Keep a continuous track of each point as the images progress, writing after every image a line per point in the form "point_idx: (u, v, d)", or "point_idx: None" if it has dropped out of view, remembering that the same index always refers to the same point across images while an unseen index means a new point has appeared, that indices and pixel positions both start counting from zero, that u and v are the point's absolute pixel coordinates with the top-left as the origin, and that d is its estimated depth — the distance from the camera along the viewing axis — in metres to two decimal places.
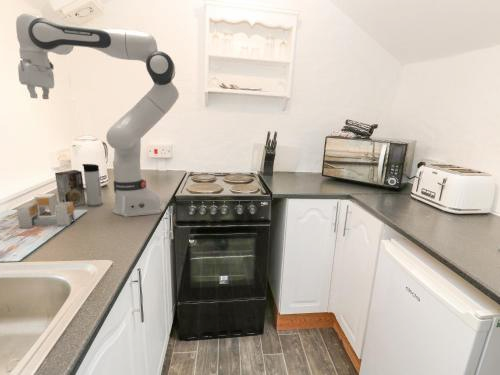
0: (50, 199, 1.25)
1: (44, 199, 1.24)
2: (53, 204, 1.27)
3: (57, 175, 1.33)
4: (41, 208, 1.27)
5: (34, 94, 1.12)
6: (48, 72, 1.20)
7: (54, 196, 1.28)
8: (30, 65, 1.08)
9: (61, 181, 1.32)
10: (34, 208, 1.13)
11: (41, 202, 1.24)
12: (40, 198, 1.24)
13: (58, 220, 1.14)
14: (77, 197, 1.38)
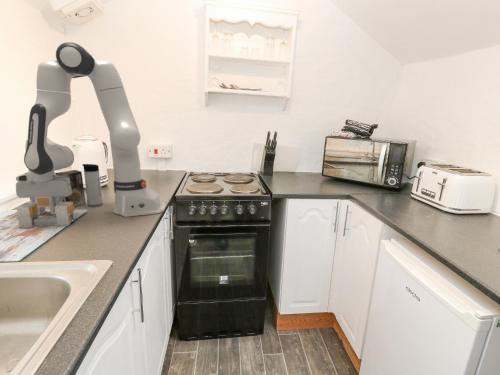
0: (50, 199, 1.25)
1: (44, 199, 1.24)
2: (53, 204, 1.27)
3: None
4: (41, 208, 1.27)
5: (58, 202, 1.29)
6: None
7: None
8: None
9: None
10: (34, 208, 1.13)
11: (41, 202, 1.24)
12: (40, 198, 1.24)
13: (58, 220, 1.14)
14: (77, 197, 1.38)
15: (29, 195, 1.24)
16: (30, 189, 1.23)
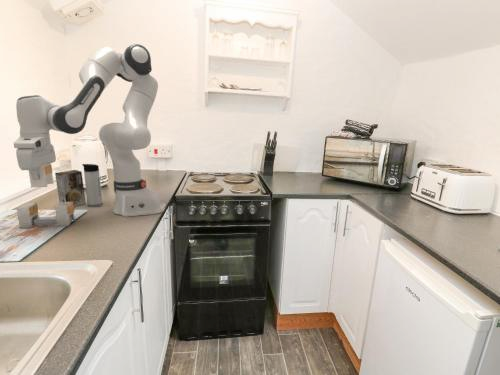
0: None
1: (50, 166, 1.12)
2: None
3: (57, 175, 1.33)
4: None
5: None
6: None
7: None
8: None
9: (61, 181, 1.32)
10: (34, 208, 1.13)
11: (49, 170, 1.11)
12: (47, 166, 1.11)
13: (58, 220, 1.14)
14: (77, 197, 1.38)
15: (37, 165, 1.06)
16: (37, 157, 1.06)
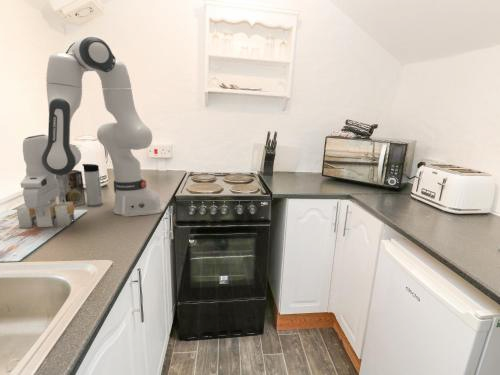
0: (56, 204, 1.18)
1: None
2: None
3: (57, 175, 1.33)
4: None
5: None
6: None
7: None
8: None
9: (61, 181, 1.32)
10: None
11: (54, 210, 1.15)
12: (53, 206, 1.14)
13: (58, 220, 1.14)
14: (77, 197, 1.38)
15: (43, 202, 1.09)
16: (43, 195, 1.09)
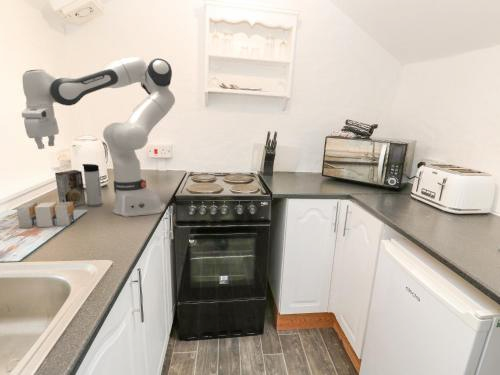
0: (56, 204, 1.18)
1: None
2: None
3: (57, 175, 1.33)
4: None
5: None
6: None
7: None
8: None
9: (61, 181, 1.32)
10: (34, 208, 1.13)
11: (54, 210, 1.15)
12: (53, 206, 1.14)
13: (58, 220, 1.14)
14: (77, 197, 1.38)
15: (43, 134, 1.15)
16: (43, 127, 1.15)
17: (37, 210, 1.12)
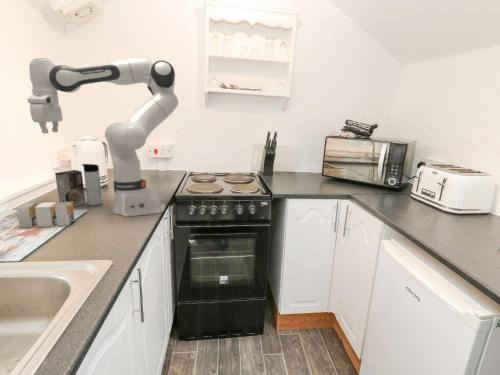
0: (56, 204, 1.18)
1: None
2: None
3: (57, 175, 1.33)
4: None
5: None
6: None
7: None
8: None
9: (61, 181, 1.32)
10: (34, 208, 1.13)
11: (54, 210, 1.15)
12: (53, 206, 1.14)
13: (58, 220, 1.14)
14: (77, 197, 1.38)
15: (47, 119, 1.22)
16: (47, 113, 1.22)
17: (37, 210, 1.12)
